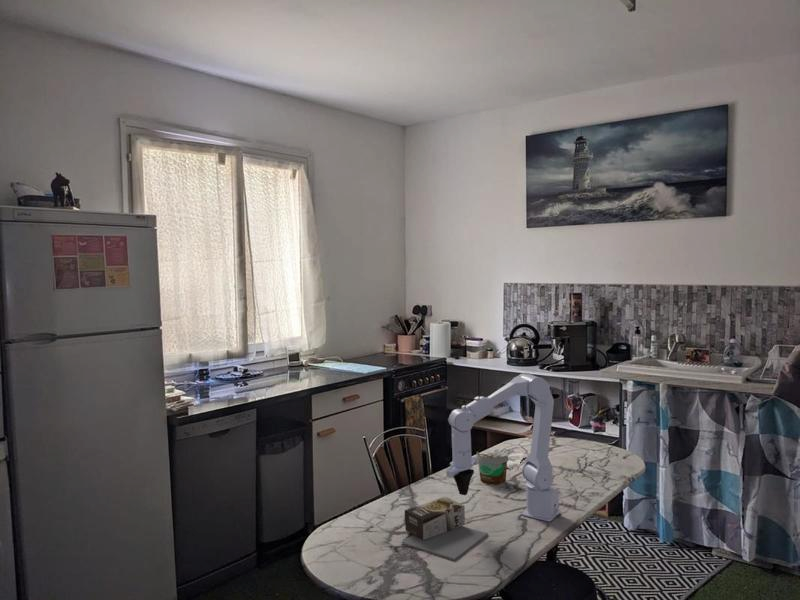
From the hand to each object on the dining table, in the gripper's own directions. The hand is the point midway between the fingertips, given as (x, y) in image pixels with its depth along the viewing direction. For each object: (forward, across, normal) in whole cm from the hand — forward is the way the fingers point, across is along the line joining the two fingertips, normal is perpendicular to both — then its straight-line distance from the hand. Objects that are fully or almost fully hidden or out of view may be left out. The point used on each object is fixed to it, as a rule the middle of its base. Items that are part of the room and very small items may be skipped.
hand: (463, 494), depth 179 cm
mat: (+10, +11, 0) cm, 15 cm away
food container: (+10, -36, -11) cm, 39 cm away
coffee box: (+6, -1, -4) cm, 7 cm away
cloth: (+11, -60, -15) cm, 63 cm away
